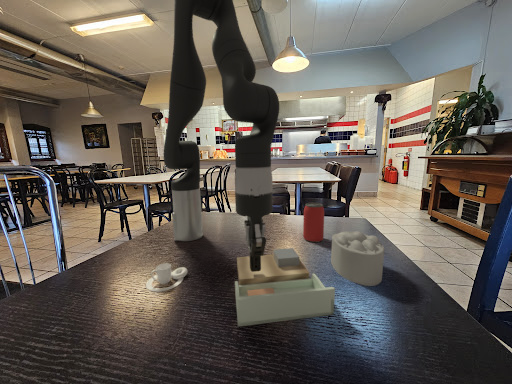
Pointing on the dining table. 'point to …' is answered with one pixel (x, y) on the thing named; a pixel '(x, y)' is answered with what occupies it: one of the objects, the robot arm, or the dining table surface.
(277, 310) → the tray
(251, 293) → the terracotta tile
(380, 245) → the lumpy-topped squat cylinder
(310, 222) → the beer can
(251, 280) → the board
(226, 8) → the robot arm
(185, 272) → the teacup and saucer
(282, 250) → the slate tile
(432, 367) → the dining table surface
